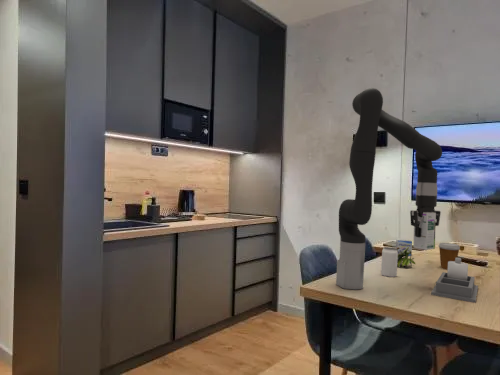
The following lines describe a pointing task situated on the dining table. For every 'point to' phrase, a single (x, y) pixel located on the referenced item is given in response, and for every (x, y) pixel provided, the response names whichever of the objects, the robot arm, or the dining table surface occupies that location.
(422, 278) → the dining table surface
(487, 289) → the dining table surface
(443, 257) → the disposable coffee cup
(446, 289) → the housing
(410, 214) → the robot arm
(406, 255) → the passion flower
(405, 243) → the medicine box
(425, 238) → the syrup box
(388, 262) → the can
